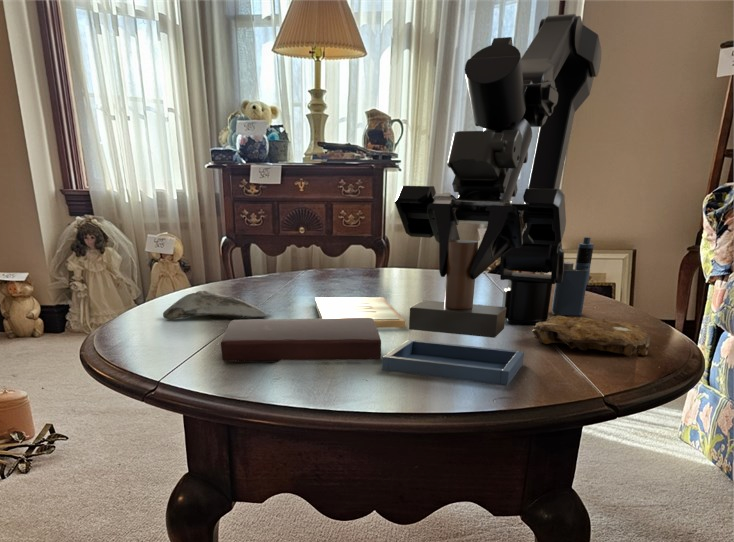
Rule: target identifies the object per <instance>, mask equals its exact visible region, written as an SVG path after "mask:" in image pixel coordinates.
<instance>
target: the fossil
mask: <svg viewBox="0 0 734 542" xmlns="http://www.w3.org/2000/svg"><path fill="white" fill-rule="evenodd" d="M217 315H218V316H219V315H225V316H226V315H228V316H229V315H231V316H240V317H241V316H242V317H251V318H252V317H253V318H266V317H267V314H266V313H265V312H264V311H263V310H262V309H260V308H258V307H256V306H255V305H252V304H250V303H249V302H247V301H244V300H242V299H239V298H236V297H232V296H228V295H222V294H218V293H215V292H211V291H208V290H198V291H196V292H192V293H189V294H188V293H187V294H186V295H184V296H182V297H181V298H179V299H178V300H177V301H175V302H174V303H173V304H172V305H170V306H169V307H168V308H167V309H166V310H164V311H163V313H162V318H163V319H165V320H177V319H181V318H182V319H183V318H188V317H189V318H190V317H207V316H208V317H209V316H217Z"/></svg>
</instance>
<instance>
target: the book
mask: <svg viewBox="0 0 734 542" xmlns="http://www.w3.org/2000/svg"><path fill="white" fill-rule="evenodd" d="M220 349H221V359H222V361H224V362H248V363H249V362H252V363H254V362H256V363H257V362H258V363H261V362H263V363H265V362H266V363H267V362H268V363H269V362H270V363H278V362H280V361H335V360H336V361H339V360H340V361H344V360H345V361H349V360H351V361H352V360H353V361H355V360H356V361H357V360H359V361H360V360H361V361H363V360H365V361H366V360H367V361H368V360H371V361H373V360H374V361H377V360H381V359H382V339H381V337H380V333H379V330H378V328H377V327H376V325H375V322H374V320H373V318H320V317H319V318H317V317H316V318H271V319H269V318H263V319H262V318H261V319H259V318H257V319H255V318H254V319H233V320H231V321H230V322H229V323H228V325H227V328H226V329H225V332H224V334H223V335H222V338H221V341H220Z"/></svg>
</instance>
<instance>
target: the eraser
mask: <svg viewBox="0 0 734 542" xmlns="http://www.w3.org/2000/svg"><path fill="white" fill-rule="evenodd" d="M478 248H479V241H478V240H471V239H460V240H451V241H449V244H448V259H447V273H446V275H445V289H444V301H436V300H425V299H423V300H421V301H420V302H418V303H415V304H413V305H412V306H410V307H409V318H408V319H409V320H408V329H409V330H412V331H420V332H432V333H442V334H451V335H461V336H470V337H471V336H472V337H482V338H493V339H495V338H497V336H499V335H500V333H501V332H502V331H503V330H504V329H505V323H506V320H505V316H506V307H502V306H497V305H487V304H474V298H475V297H474V296H475V284H476V283H475V282H476V279H471V277H470V270H471V267H472V263H473V260H474V258H475V255H476V253H477V250H478Z"/></svg>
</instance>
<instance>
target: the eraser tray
mask: <svg viewBox="0 0 734 542" xmlns="http://www.w3.org/2000/svg"><path fill="white" fill-rule="evenodd" d="M524 358H525V351H521V350H513V349H512V350H511V349H504V348H503V349H502V348H494V347H493V348H492V347H483V346H473V345H464V344H455V343H445V342H437V341H427V340H419V339H418V340H417V339H407V340H406V341H405V342H403V343H401V344H400V345H399V346H397V347H396V348H394V349H392V350H391V351H389V352H388V353H386V354H384V355H383V356H381V359H382V360H381V361H382V362H381V371H387V372H395V373H403V374H411V375H412V374H413V375H418V376H428V377H435V378H442V379H443V378H445V379H452V380H461V381H468V382H474V383H475V382H476V383H484V384H492V385H499V386H500V385H501V386H508V385H509V384H510V383H511V381H512V380H513V379H514V377H515V376H516V374H517V373H518V371H520V369H521V368H522V366H523V364H524Z"/></svg>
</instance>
